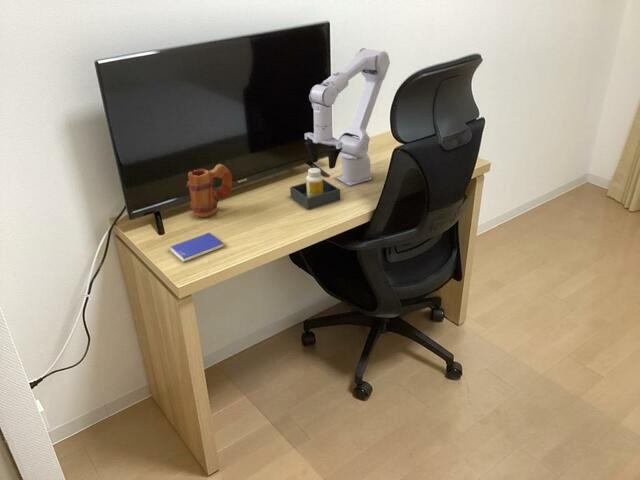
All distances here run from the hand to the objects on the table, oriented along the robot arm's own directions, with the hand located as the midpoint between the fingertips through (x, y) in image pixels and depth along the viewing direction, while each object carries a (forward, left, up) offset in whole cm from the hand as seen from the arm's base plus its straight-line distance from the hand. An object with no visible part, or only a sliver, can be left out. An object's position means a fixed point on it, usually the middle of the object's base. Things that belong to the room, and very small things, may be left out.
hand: (323, 164), depth 187 cm
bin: (+4, +1, -10) cm, 11 cm away
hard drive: (+49, +9, -11) cm, 51 cm away
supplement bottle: (+4, +1, -10) cm, 11 cm away
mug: (+36, -10, -11) cm, 39 cm away
